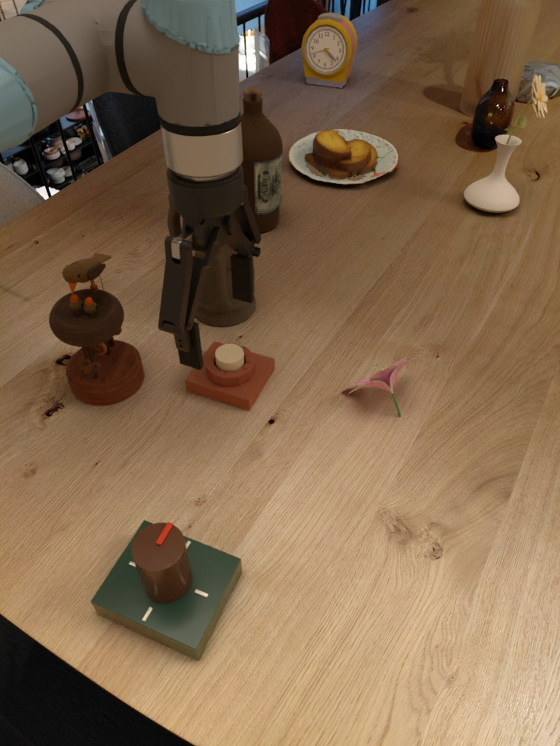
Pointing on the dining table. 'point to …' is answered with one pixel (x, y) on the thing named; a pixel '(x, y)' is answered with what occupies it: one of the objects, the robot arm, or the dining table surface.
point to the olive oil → (261, 161)
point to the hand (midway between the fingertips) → (219, 330)
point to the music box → (95, 338)
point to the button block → (231, 378)
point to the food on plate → (343, 156)
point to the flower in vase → (505, 163)
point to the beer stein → (216, 285)
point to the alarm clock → (329, 48)
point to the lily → (385, 378)
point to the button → (229, 357)
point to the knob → (162, 562)
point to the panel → (178, 618)
